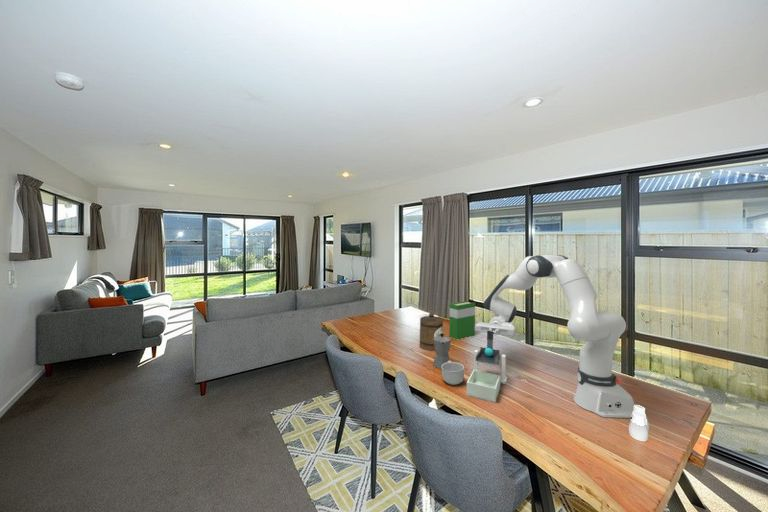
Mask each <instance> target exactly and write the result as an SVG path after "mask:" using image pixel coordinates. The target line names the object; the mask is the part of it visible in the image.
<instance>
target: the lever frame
mask: <svg viewBox="0 0 768 512" xmlns="http://www.w3.org/2000/svg"><path fill="white" fill-rule="evenodd" d="M478 352H479V349H475V350H474V352H473V353H474V354H473V356H474V357H473V370H477V371H479V361H475V360H476V355H477V354H478ZM506 359H507V357H506V354H501V359H500V361H501V367H500V368H501V371H500V374H497V373H496V374H497V375H500V384H504V385H506V384H507V380H508V376H507V375H506V364H507V363H506V362H507V361H506ZM481 371H482V372H484V371H483V370H481ZM486 372H487V371H486ZM487 373H489V372H487ZM491 373H492V372H491ZM492 374H494V373H492Z"/></svg>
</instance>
